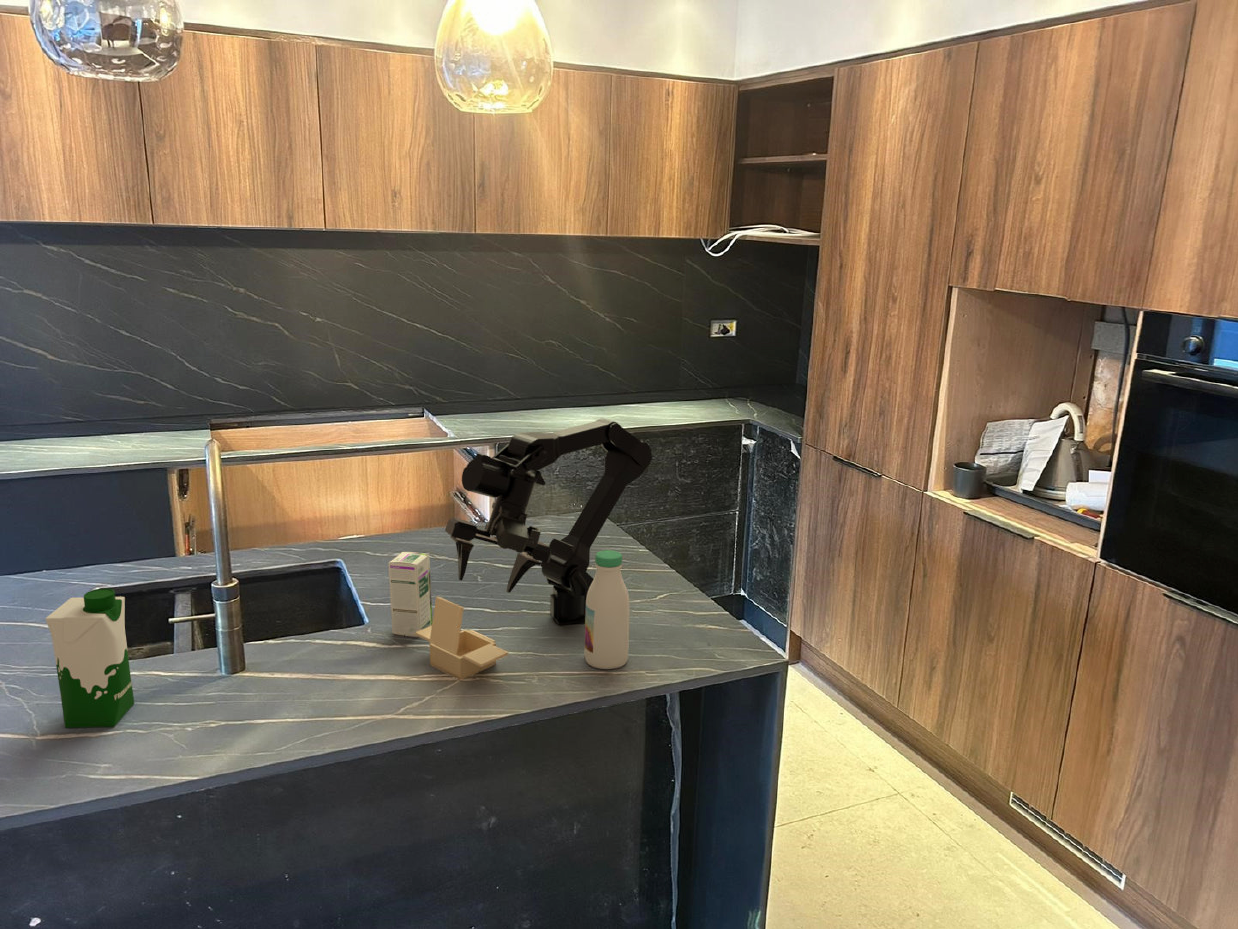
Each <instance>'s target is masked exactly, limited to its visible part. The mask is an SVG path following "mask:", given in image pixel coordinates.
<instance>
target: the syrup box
mask: <svg viewBox="0 0 1238 929" xmlns="http://www.w3.org/2000/svg"><path fill="white" fill-rule="evenodd" d="M430 564H431V562H430V554H428V553H423V552H415V551H414V552H413V551H401V552H400V554H398V555H397V556H395V557H394V558H393V559H392V560H390V561H389V562H388V564H387V565H388V580H389V596H390V614H391V627H392V628H391V629H392V630H391V631H392V632H391V633H392V634H393V635H398V636H404V635H405V636H404V637H415V638H420V637H419V636H417V635H415V632H417V631H420V630H422V629H425V628H427V627H430V626H432V621H433V606H432V604H433V603H432V601H433V600H432V583H431V565H430Z"/></svg>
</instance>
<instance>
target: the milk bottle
mask: <svg viewBox="0 0 1238 929" xmlns="http://www.w3.org/2000/svg"><path fill="white" fill-rule="evenodd" d="M594 559H595V568H596V571H595V575H594V576H593V581H592V583H591V585H590V587H589V590H588V593H587V598H586V611H585V622H584V660H585V662H586V664H588V666H590V667H592V668H596V669H600V670H612V669H613V670H615V669H618V668H621V667H623V666H624V665H625V664H626V663H627V662H628V660H629V642H630V640H629V639H630V595H629V591H628V588H627V585H626V584H625V581H624V580H623V576H622V572H621V571H622V570H621V568H622V567H623V565H622V563H623V554H622V553H621V552H619V551H616V550H609V549H607V550H600V551H598V552H596V554H595V558H594Z"/></svg>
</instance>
